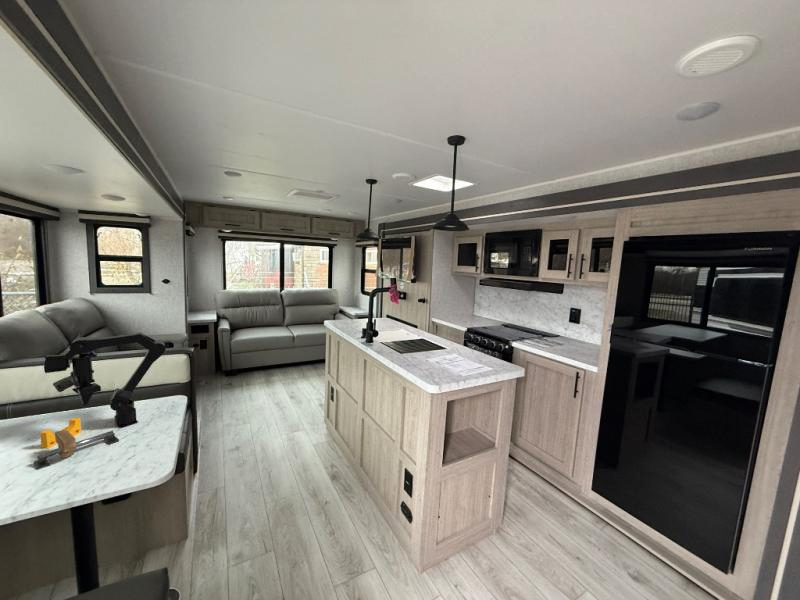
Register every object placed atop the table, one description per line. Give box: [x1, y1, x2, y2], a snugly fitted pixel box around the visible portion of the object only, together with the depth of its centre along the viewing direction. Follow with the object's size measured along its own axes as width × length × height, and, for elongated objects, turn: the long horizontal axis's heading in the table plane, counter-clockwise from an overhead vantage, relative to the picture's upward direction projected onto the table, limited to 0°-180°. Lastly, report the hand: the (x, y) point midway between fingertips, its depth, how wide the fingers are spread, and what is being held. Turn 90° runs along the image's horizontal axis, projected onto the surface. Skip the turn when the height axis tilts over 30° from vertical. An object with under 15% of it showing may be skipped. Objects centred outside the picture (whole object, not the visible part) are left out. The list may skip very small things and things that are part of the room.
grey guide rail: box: [33, 430, 120, 470], centre depth 121 cm, size 22×6×4 cm, turn 147°
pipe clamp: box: [39, 417, 82, 450], centre depth 128 cm, size 12×4×6 cm, turn 175°
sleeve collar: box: [54, 429, 77, 459], centre depth 118 cm, size 3×12×7 cm, turn 57°
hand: (85, 404), depth 133 cm, fingers closed
